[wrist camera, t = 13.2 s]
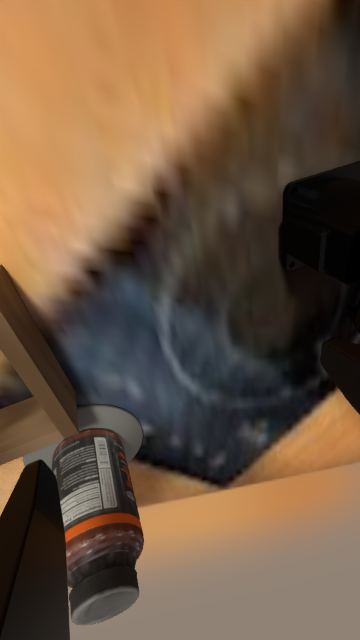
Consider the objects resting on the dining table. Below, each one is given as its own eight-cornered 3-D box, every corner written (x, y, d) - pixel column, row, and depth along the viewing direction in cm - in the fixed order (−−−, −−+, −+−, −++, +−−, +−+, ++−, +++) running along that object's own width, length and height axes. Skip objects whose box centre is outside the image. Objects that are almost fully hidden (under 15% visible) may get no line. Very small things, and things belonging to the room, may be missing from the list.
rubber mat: (123, 387, 26) (125, 390, 25) (152, 453, 32) (153, 456, 31) (-1, 436, 24) (-2, 440, 24) (54, 495, 30) (54, 499, 30)
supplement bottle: (126, 457, 30) (158, 604, 21) (61, 478, 28) (66, 646, 19) (117, 416, 27) (151, 568, 18) (42, 437, 25) (38, 616, 16)
